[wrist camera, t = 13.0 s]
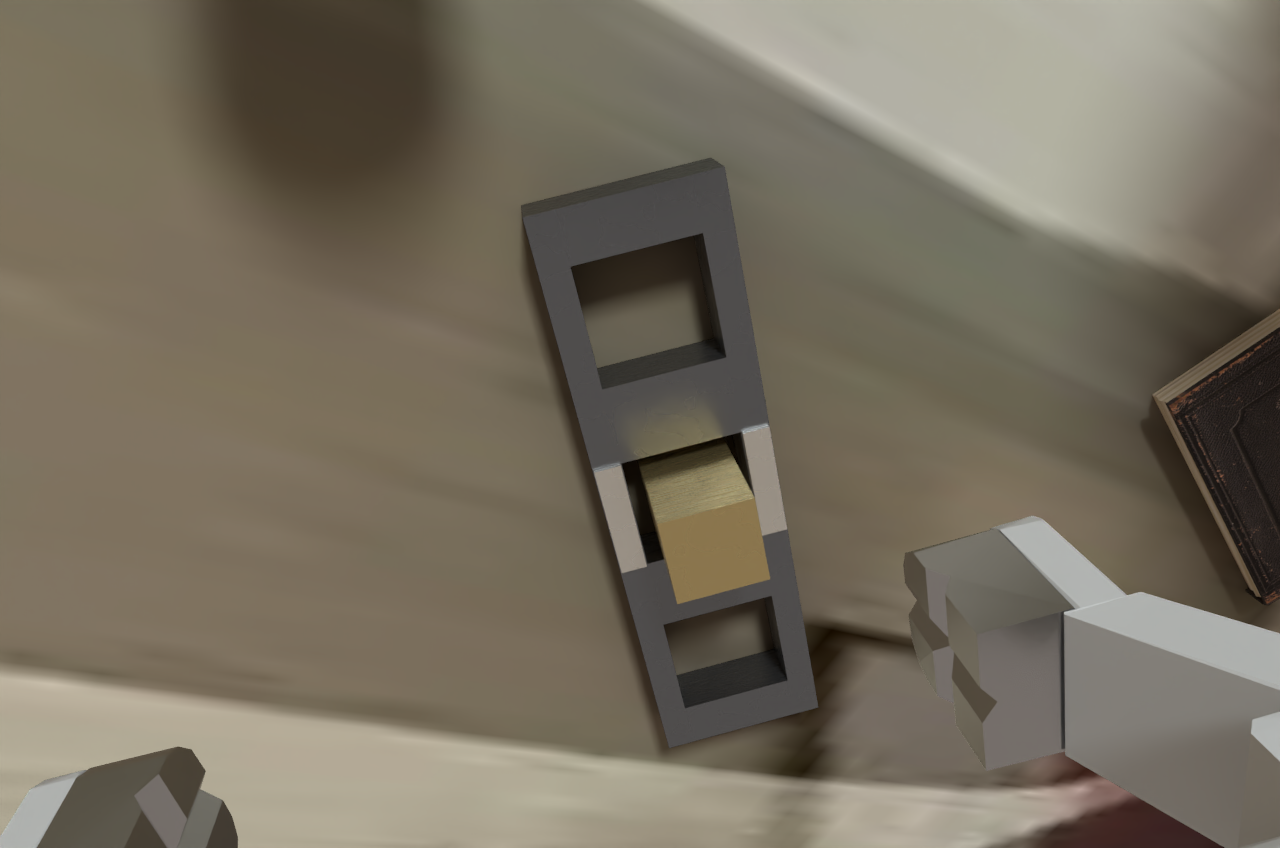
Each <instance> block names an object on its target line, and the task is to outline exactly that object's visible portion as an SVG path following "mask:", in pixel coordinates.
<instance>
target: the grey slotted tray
mask: <svg viewBox="0 0 1280 848" xmlns="http://www.w3.org/2000/svg"><path fill="white" fill-rule="evenodd" d="M521 208H522V218H523V221H524V225H525V229H526V232H527V236H528V240H529V243H530V247H531V250H532V254H533V258H534V261H535V265H536V268H537V272H538V276H539V279H540V283H541V287H542V290H543V294H544V297H545V301H546V305H547V308H548V312H549V315H550V319H551V323H552V326H553V330H554V333H555V337H556V341H557V344H558V348H559V352H560V355H561V359H562V362H563V366H564V370H565V373H566V377H567V380H568V384H569V388H570V391H571V395H572V399H573V402H574V406H575V409H576V413H577V417H578V420H579V424H580V427H581V431H582V435H583V438H584V442H585V446H586V449H587V453H588V456H589V460H590V464H591V467H592V471H593V474H594V478H595V482H596V485H597V489H598V492H599V496H600V500H601V503H602V507H603V511H604V514H605V518H606V521H607V525H608V529H609V532H610V536H611V539H612V543H613V547H614V550H615V554H616V558H617V561H618V565H619V568H620V572H621V576H622V579H623V583H624V586H625V590H626V594H627V597H628V601H629V605H630V608H631V612H632V615H633V619H634V623H635V626H636V630H637V633H638V637H639V641H640V644H641V648H642V651H643V655H644V659H645V662H646V666H647V670H648V673H649V677H650V680H651V684H652V688H653V691H654V695H655V698H656V702H657V706H658V709H659V713H660V717H661V720H662V724H663V727H664V731H665V735H666V738H667V742H668V745H669V748H671V747H675V746H679V745H682V744H686V743H690V742H693V741H697V740H701V739H704V738H708V737H712V736H715V735H719V734H723V733H726V732H730V731H733V730H737V729H741V728H744V727H748V726H752V725H755V724H759V723H763V722H766V721H770V720H774V719H777V718H781V717H785V716H788V715H792V714H796V713H799V712H803V711H807V710H810V709H814V708H818V703H817V697H816V692H815V686H814V680H813V674H812V669H811V663H810V657H809V651H808V645H807V640H806V634H805V628H804V622H803V617H802V611H801V605H800V599H799V593H798V588H797V582H796V576H795V570H794V565H793V559H792V553H791V547H790V541H789V536H788V530H787V524H786V518H785V513H784V507H783V501H782V495H781V489H780V484H779V478H778V472H777V466H776V461H775V455H774V449H773V443H772V438H771V432H770V426H769V420H768V414H767V409H766V403H765V397H764V391H763V386H762V380H761V374H760V368H759V362H758V357H757V351H756V345H755V339H754V334H753V328H752V322H751V316H750V310H749V305H748V299H747V293H746V287H745V282H744V276H743V270H742V264H741V258H740V253H739V247H738V241H737V235H736V230H735V224H734V218H733V212H732V207H731V201H730V195H729V189H728V183H727V178H726V172H725V167H724V166H723V165H721V164H720V163H718V162H717V161H715V160H714V159H712V158H708V159H704V160H700V161H696V162H692V163H688V164H684V165H680V166H676V167H672V168H668V169H664V170H660V171H656V172H652V173H648V174H644V175H640V176H636V177H632V178H628V179H624V180H621V181H617V182H613V183H609V184H605V185H601V186H597V187H593V188H589V189H585V190H581V191H577V192H573V193H569V194H565V195H561V196H557V197H553V198H549V199H545V200H541V201H537V202H533V203H529V204H525V205H521ZM693 235H694V238H695V243H696V249H697V254H698V259H699V264H700V269H701V274H702V279H703V285H704V290H705V295H706V300H707V305H708V310H709V315H710V321H711V326H712V331H713V336H714V339H710V340H706V341H702V342H698V343H694V344H690V345H687V346H683V347H679V348H675V349H671V350H667V351H663V352H659V353H656V354H652V355H648V356H644V357H640V358H636V359H632V360H628V361H625V362H621V363H617V364H613V365H609V366H605V367H601V368H597V367H596V363H595V360H594V356H593V352H592V348H591V344H590V340H589V336H588V333H587V329H586V325H585V321H584V317H583V313H582V309H581V306H580V302H579V298H578V294H577V290H576V286H575V283H574V279H573V275H572V271H571V266H575V265H579V264H583V263H587V262H591V261H595V260H599V259H603V258H607V257H610V256H614V255H618V254H622V253H626V252H630V251H634V250H638V249H642V248H646V247H650V246H654V245H658V244H662V243H666V242H670V241H674V240H677V239H681V238H685V237H689V236H693ZM732 434H733V439H734V444H735V449H736V455H737V460H738V465H739V469H740V471H741V473H742V475H743V477H744V478H745V480H746V482H747V484H748V486H749V488H750V490H751V492H752V494H753V496H754V498H755V502H756V507H757V512H758V517H759V522H760V528H761V533H762V538H763V543H764V549H765V554H766V559H767V564H768V570H769V575H770V579H769V580H766V581H762V582H758V583H755V584H751V585H747V586H743V587H740V588H736V589H732V590H729V591H725V592H721V593H717V594H714V595H710V596H706V597H703V598H699V599H695V600H691V601H688V602H684V603H680V604H677V601H676V598H675V595H674V591H673V588H672V584H671V581H670V578H669V574H668V571H667V568H666V564H665V561H664V557H663V554H662V551H661V547H660V544H659V541H658V537H657V534H656V532H652V533H649V534H645V535H641V536H640V533H639V529H638V525H637V521H636V518H635V514H634V510H633V506H632V502H631V498H630V495H629V491H628V487H627V483H626V479H625V475H624V471H623V468H622V464H621V463H625V462H629V461H633V460H637V459H640V458H644V457H648V456H652V455H656V454H659V453H663V452H667V451H671V450H675V449H679V448H682V447H686V446H690V445H694V444H698V443H701V442H705V441H709V440H713V439H717V438H721V437H724V436H728V435H732ZM761 598H764V599H765V604H766V609H767V614H768V619H769V624H770V630H771V635H772V640H773V645H774V649H773V650H769V651H765V652H762V653H758V654H754V655H751V656H747V657H743V658H740V659H736V660H732V661H729V662H725V663H721V664H717V665H714V666H710V667H706V668H703V669H699V670H695V671H692V672H688V673H684V674H681V675H677V676H676V672H675V668H674V664H673V660H672V656H671V653H670V649H669V645H668V641H667V637H666V633H665V629H664V626H663V625H664V624H668V623H672V622H676V621H679V620H683V619H687V618H690V617H694V616H698V615H702V614H705V613H709V612H713V611H717V610H720V609H724V608H728V607H731V606H735V605H739V604H743V603H746V602H750V601H754V600H757V599H761Z"/></svg>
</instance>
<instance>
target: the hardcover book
mask: <svg viewBox="0 0 1280 848" xmlns="http://www.w3.org/2000/svg"><path fill="white" fill-rule="evenodd" d="M1152 395H1153V397H1154V399H1155V401H1156V403H1157V405H1158V407H1159V409H1160V411H1161V413H1162V415H1163V417H1164V419H1165V421H1166V423H1167V425H1168V427H1169V429H1170V431H1171V433H1172V435H1173V437H1174V439H1175V441H1176V443H1177V445H1178V447H1179V449H1180V451H1181V453H1182V455H1183V457H1184V459H1185V461H1186V463H1187V465H1188V467H1189V469H1190V471H1191V473H1192V475H1193V477H1194V479H1195V481H1196V483H1197V485H1198V487H1199V489H1200V491H1201V493H1202V495H1203V497H1204V499H1205V501H1206V503H1207V505H1208V507H1209V509H1210V511H1211V513H1212V515H1213V517H1214V519H1215V521H1216V523H1217V525H1218V527H1219V529H1220V531H1221V533H1222V535H1223V537H1224V539H1225V541H1226V543H1227V545H1228V547H1229V549H1230V551H1231V553H1232V555H1233V557H1234V559H1235V560H1236V562H1237V564H1238V566H1239V568H1240V570H1241V572H1242V574H1243V576H1244V578H1245V580H1246V582H1247V584H1248V586H1249V588H1248V589H1246V591H1247V592H1248V593H1249V594H1250V595H1251V596H1253V597H1254V598H1255V599H1256V600H1258V601H1259V602H1261V603H1262V604H1264V605H1270V604H1271V603H1273V602H1275V601H1276V600H1278V599H1279V598H1280V309H1278V310H1277V311H1275V312H1274V313H1273V314H1271V315H1270V316H1268V317H1267V318H1265V319H1264V320H1262V321H1261V322H1259V323H1258V324H1256V325H1255V326H1253V327H1252V328H1250V329H1249V330H1247V331H1246V332H1244V333H1243V334H1241V335H1240V336H1238V337H1237V338H1235V339H1234V340H1232V341H1231V342H1230V343H1228V344H1227V345H1225V346H1224V347H1222V348H1221V349H1219V350H1218V351H1216V352H1215V353H1213V354H1212V355H1210V356H1209V357H1207V358H1206V359H1204V360H1203V361H1201V362H1200V363H1198V364H1197V365H1195V366H1194V367H1192V368H1191V369H1190V370H1188V371H1187V372H1185V373H1184V374H1182V375H1181V376H1179V377H1178V378H1176V379H1175V380H1173V381H1172V382H1170V383H1169V384H1167V385H1166V386H1164V387H1163V388H1161V389H1160V390H1158V391H1157V392H1155V393H1154V394H1152Z"/></svg>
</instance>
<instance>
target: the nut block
mask: <svg viewBox="0 0 1280 848" xmlns="http://www.w3.org/2000/svg"><path fill="white" fill-rule="evenodd" d="M637 461H638V465H639V469H640V473H641V477H642V481H643V485H644V489H645V493H646V497H647V501H648V505H649V509H650V513H651V517H652V520H653V524H654V527H655V530H656V534H657V537H658V541H659V544H660V547H661V551H662V554H663V557H664V561H665V564H666V568H667V571H668V574H669V578H670V581H671V584H672V588H673V591H674V595H675V598H676V601H677V604H680V603H684V602H688V601H691V600H695V599H699V598H703V597H706V596H710V595H714V594H717V593H721V592H725V591H729V590H732V589H736V588H740V587H743V586H747V585H751V584H755V583H758V582H762V581H766V580H769V579H770V575H769V570H768V564H767V559H766V554H765V549H764V543H763V538H762V533H761V528H760V522H759V517H758V512H757V507H756V502H755V498H754V496H753V494H752V492H751V490H750V488H749V486H748V484H747V482H746V480H745V478H744V477H743V475H742V473H741V471H740V469H739V467H738V465H737V463H736V461H735V459H734V457H733V456H732V454H731V452H730V450H729V448H728V446H727V444H726V442H725V440H724V438H723V437H721V438H717V439H713V440H709V441H705V442H701V443H698V444H694V445H690V446H686V447H682V448H679V449H675V450H671V451H667V452H663V453H659V454H656V455H652V456H648V457H644V458H640V459H637Z"/></svg>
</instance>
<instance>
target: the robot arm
mask: <svg viewBox="0 0 1280 848" xmlns="http://www.w3.org/2000/svg"><path fill="white" fill-rule="evenodd" d="M903 566H904V576H905V584H906V585H907V587H908V588H909V590H910V591H911V592H912V594H913V595H914V597H915V598H916V599H917V602H916V603H915V605H914V607H913V608H912V610H911V612H910V613H909V622H910V629H911V636H912V641H913V644H914V647H915V651H916V654H917V657H918V661H919V663H920V666H921V668H922V670H923V672H924V674H925V676H926V678H927V680H928V682H929V683H930V685H931V686H932V688H933V690H934V691H935V693H936V695H937V696H939V697H941V698H943V699H945V700H947V701H949V702H952V703H954V708H955V719H956V726H957V727H958V729H959V730H960V732H961V733H962V735H963V736H964V738H965V739H966V741H967V742H968V744H969V745H970V747H971V748H972V750H973V751H974V753H975V754H976V756H977V758H978V759H979V761H980V762H981V764H982V765H983V767H984V768H985V770H986V771H987V770H991V769H995V768H999V767H1003V766H1007V765H1011V764H1016V763H1020V762H1024V761H1028V760H1032V759H1036V758H1040V757H1044V756H1048V755H1052V754H1056V753H1060V752H1064V751H1065V755H1066V756H1068V757H1069V758H1071V759H1073V760H1074V761H1076V762H1078V763H1080V764H1081V765H1083V766H1085V767H1087V768H1088V769H1090V770H1092V771H1093V772H1095V773H1097V774H1099V775H1100V776H1102V777H1104V778H1105V779H1107V780H1109V781H1111V782H1112V783H1114V784H1116V785H1118V786H1119V787H1121V788H1123V789H1124V790H1126V791H1128V792H1130V793H1131V794H1133V795H1135V796H1137V797H1138V798H1140V799H1142V800H1143V801H1145V802H1147V803H1149V804H1150V805H1152V806H1154V807H1155V808H1157V809H1159V810H1161V811H1162V812H1164V813H1166V814H1168V815H1169V816H1171V817H1173V818H1174V819H1176V820H1178V821H1180V822H1181V823H1183V824H1185V825H1187V826H1188V827H1190V828H1192V829H1193V830H1195V831H1197V832H1199V833H1200V834H1202V835H1204V836H1206V837H1207V838H1209V839H1211V840H1212V841H1214V842H1216V843H1218V844H1219V845H1221V846H1223V847H1224V848H1280V633H1277V632H1273V631H1270V630H1266V629H1263V628H1260V627H1256V626H1253V625H1250V624H1246V623H1243V622H1240V621H1236V620H1233V619H1230V618H1226V617H1223V616H1220V615H1216V614H1213V613H1210V612H1206V611H1203V610H1200V609H1196V608H1193V607H1190V606H1186V605H1183V604H1180V603H1176V602H1173V601H1170V600H1166V599H1163V598H1160V597H1156V596H1153V595H1149V594H1146V593H1143V592H1139V593H1135V594H1131V595H1126V594H1125V593H1124V592H1123V591H1122V590H1121V589H1120V588H1119V587H1118V586H1116V585H1115V584H1114V583H1113V582H1112V581H1111V580H1110V579H1109V578H1108V577H1106V576H1105V575H1104V574H1103V573H1102V572H1101V571H1100V570H1099V569H1098V568H1096V567H1095V566H1094V565H1093V564H1092V563H1091V562H1090V561H1089V560H1088V559H1086V558H1085V557H1084V556H1083V555H1082V554H1081V553H1080V552H1079V551H1078V550H1076V549H1075V548H1074V547H1073V546H1072V545H1071V544H1070V543H1069V542H1068V541H1066V540H1065V539H1064V538H1063V537H1062V536H1061V535H1060V534H1059V533H1058V532H1056V531H1055V530H1054V529H1053V528H1052V527H1051V526H1050V525H1049V524H1048V523H1046V522H1045V521H1044V520H1043V519H1042V518H1039V517H1035V516H1030V517H1026V518H1023V519H1020V520H1016V521H1013V522H1010V523H1006V524H1003V525H1000V526H996V527H993V528H990V530H988V531H984V532H981V533H977V534H973V535H969V536H966V537H962V538H958V539H955V540H951V541H947V542H944V543H940V544H936V545H933V546H929V547H925V548H922V549H918V550H914V551H911V552H907V553H905V558H904V564H903ZM205 772H206V771H205V769H204V768H203V766H202V765H201V763H200V762H199V760H198V759H197V757H196V756H195V754H194V753H193V751H192V750H191V749H186V748H182V747H175V748H171V749H166V750H162V751H158V752H154V753H150V754H146V755H142V756H138V757H134V758H130V759H126V760H121V761H117V762H113V763H109V764H105V765H101V766H97V767H93V768H90V769H88V770H83V771H78V772H74V773H70V774H67V775H63V776H59V777H55V778H51V779H47V780H44V781H43V782H41V783H39V784H38V785H36V786H35V787H33V788H31V789H30V790H29V792H28V793H27V795H26V797H25V798H24V800H23V801H22V803H21V804H20V806H19V808H18V809H17V811H16V812H15V814H14V816H13V817H12V819H11V820H10V822H9V824H8V825H7V827H6V828H5V830H4V832H3V833H2V835H1V836H0V848H238V836H237V833H236V829H235V826H234V822H233V818H232V816H231V814H230V812H229V810H228V809H227V807H226V805H225V803H224V802H223V800H221V799H219V798H217V797H215V796H213V795H211V794H209V793H207V792H205V791H203V790H201V789H200V788H201V785H202V782H203V778H204V775H205Z"/></svg>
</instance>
